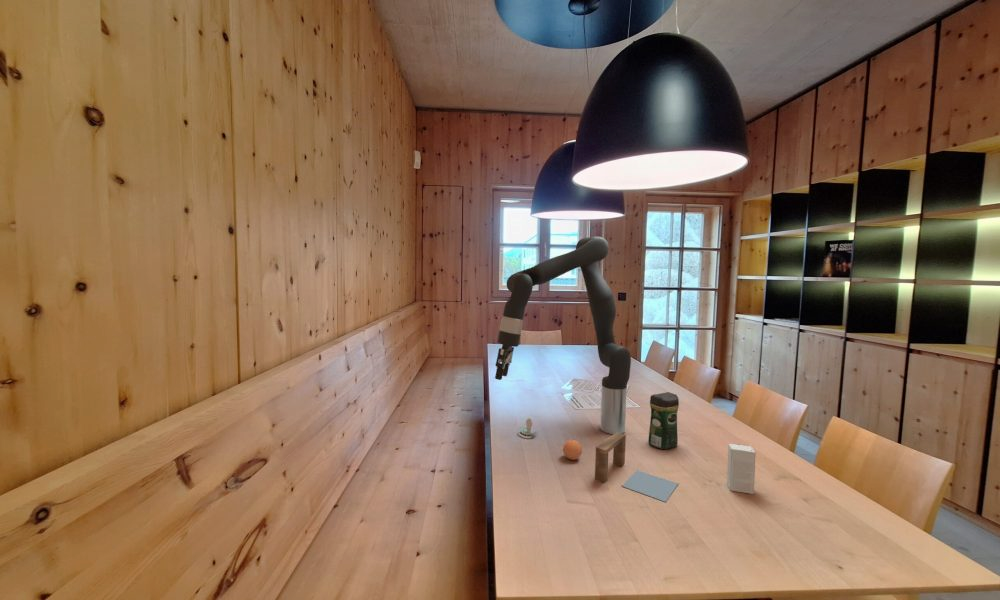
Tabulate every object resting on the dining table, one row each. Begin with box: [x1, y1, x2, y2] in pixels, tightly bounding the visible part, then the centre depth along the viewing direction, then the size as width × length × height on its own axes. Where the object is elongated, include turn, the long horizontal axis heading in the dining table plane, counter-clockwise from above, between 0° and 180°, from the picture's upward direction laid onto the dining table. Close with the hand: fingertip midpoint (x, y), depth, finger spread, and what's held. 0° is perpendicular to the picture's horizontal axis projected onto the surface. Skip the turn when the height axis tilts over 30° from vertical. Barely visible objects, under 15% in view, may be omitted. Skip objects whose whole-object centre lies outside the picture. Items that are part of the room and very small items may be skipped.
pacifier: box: [517, 418, 538, 439], centre depth 147 cm, size 7×6×6 cm
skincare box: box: [726, 443, 757, 495], centre depth 112 cm, size 6×4×12 cm
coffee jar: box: [648, 391, 680, 450], centre depth 141 cm, size 10×8×19 cm
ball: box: [562, 439, 583, 461], centre depth 129 cm, size 6×6×6 cm
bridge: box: [594, 432, 627, 484], centre depth 121 cm, size 3×15×10 cm, turn 141°
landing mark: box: [621, 469, 679, 503], centre depth 114 cm, size 12×12×1 cm
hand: (501, 377), depth 136 cm, fingers open, 8 cm apart
